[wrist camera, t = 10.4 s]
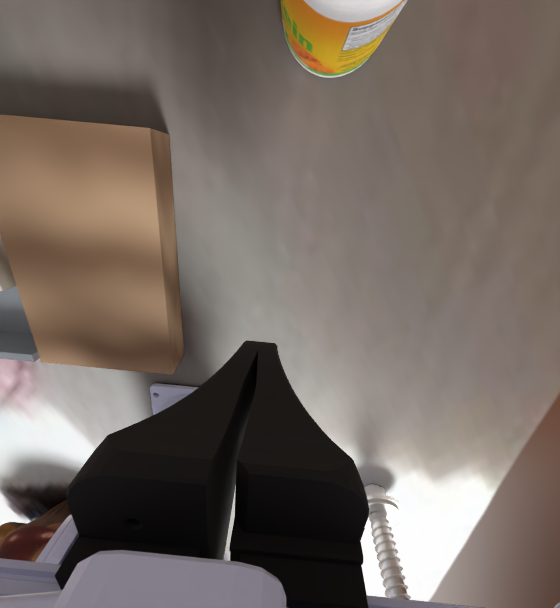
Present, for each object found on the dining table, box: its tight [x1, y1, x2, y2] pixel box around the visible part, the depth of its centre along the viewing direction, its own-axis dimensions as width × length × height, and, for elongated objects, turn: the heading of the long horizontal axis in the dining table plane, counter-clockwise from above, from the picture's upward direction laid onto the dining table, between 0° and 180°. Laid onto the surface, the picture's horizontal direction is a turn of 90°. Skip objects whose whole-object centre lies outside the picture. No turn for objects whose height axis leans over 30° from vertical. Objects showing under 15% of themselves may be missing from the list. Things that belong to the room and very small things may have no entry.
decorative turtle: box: [0, 500, 71, 562], centre depth 30 cm, size 10×15×8 cm, turn 84°
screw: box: [364, 484, 411, 600], centre depth 24 cm, size 13×5×5 cm
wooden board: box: [0, 114, 184, 375], centre depth 19 cm, size 16×10×2 cm, turn 175°
